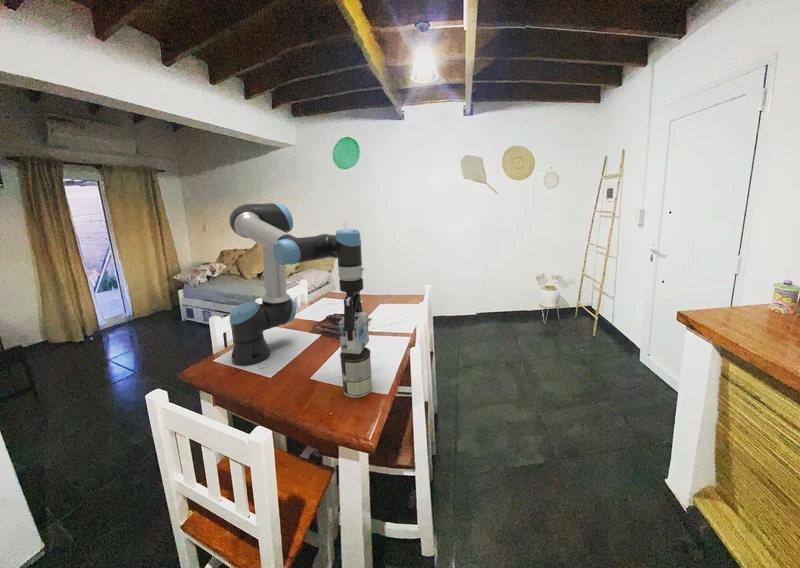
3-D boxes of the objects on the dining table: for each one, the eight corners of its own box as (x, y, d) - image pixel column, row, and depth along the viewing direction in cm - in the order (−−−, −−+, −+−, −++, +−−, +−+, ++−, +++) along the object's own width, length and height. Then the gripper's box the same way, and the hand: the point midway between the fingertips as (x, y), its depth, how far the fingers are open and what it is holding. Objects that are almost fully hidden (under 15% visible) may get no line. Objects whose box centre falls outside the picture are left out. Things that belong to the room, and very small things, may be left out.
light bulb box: (360, 354, 101) (358, 323, 98) (340, 353, 102) (337, 322, 100) (369, 340, 111) (368, 311, 108) (351, 339, 112) (349, 311, 110)
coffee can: (336, 391, 109) (333, 355, 106) (356, 378, 117) (354, 343, 114) (358, 401, 103) (356, 363, 100) (378, 386, 111) (376, 350, 108)
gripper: (355, 287, 89) (360, 357, 94) (368, 270, 112) (371, 327, 117) (329, 287, 89) (335, 357, 95) (347, 270, 112) (351, 327, 118)
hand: (355, 341), depth 106 cm, fingers closed on light bulb box, 11 cm apart
